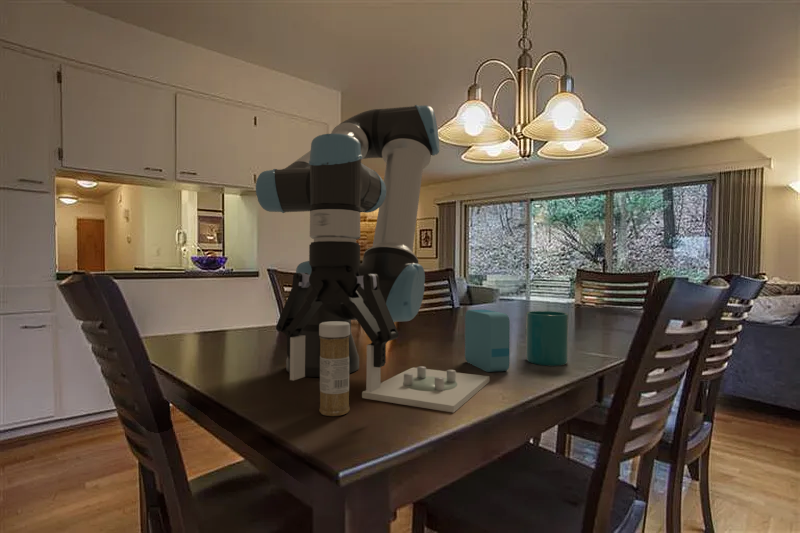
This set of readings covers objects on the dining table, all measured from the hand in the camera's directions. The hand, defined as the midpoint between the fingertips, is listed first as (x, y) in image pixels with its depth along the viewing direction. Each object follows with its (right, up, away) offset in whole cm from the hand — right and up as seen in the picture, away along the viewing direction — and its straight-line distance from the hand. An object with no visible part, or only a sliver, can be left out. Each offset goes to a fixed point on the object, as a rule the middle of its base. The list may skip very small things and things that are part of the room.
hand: (333, 383), depth 67 cm
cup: (+43, -5, +37) cm, 57 cm away
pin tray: (+15, -4, +13) cm, 20 cm away
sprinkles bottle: (0, -5, 0) cm, 5 cm away
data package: (+29, -5, +31) cm, 42 cm away
